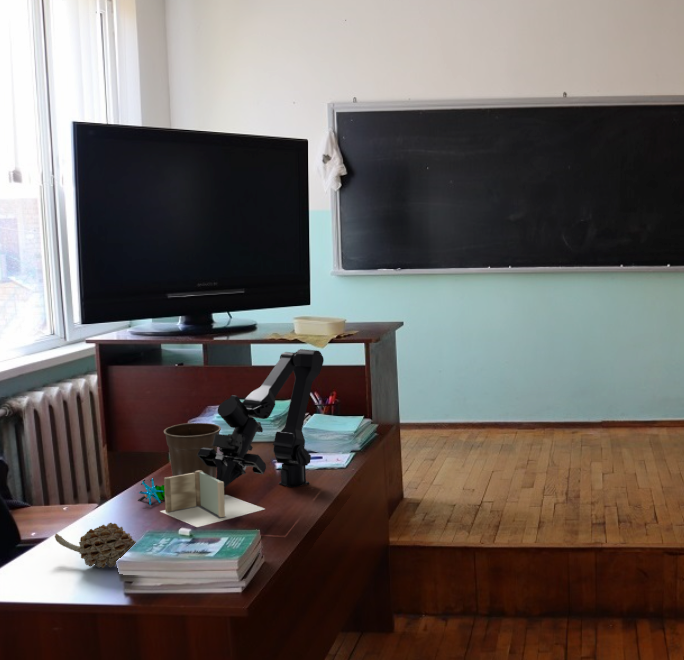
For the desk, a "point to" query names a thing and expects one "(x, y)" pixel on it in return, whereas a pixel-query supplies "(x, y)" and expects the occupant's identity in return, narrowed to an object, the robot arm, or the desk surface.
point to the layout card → (204, 516)
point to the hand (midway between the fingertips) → (218, 488)
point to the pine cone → (101, 545)
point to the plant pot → (190, 447)
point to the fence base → (182, 491)
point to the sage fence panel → (212, 494)
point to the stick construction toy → (153, 492)
